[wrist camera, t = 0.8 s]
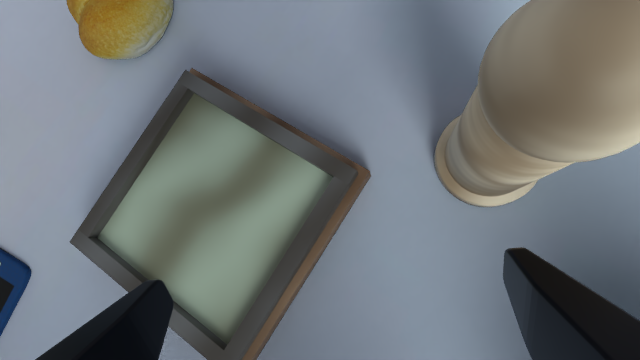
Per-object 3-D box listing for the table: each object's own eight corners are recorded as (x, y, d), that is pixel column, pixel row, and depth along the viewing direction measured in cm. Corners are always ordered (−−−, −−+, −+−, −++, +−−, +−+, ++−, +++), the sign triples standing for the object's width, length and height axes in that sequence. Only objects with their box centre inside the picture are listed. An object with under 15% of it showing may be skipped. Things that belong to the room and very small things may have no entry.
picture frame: (370, 175, 24) (368, 167, 21) (246, 375, 23) (229, 390, 20) (202, 77, 28) (184, 60, 25) (90, 244, 27) (60, 244, 24)
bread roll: (108, 82, 29) (66, 57, 26) (78, 1, 32) (35, -33, 28) (194, 31, 29) (163, -3, 25) (157, -48, 31) (124, -90, 27)
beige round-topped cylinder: (555, 142, 22) (822, -30, 8) (505, 225, 22) (700, 187, 8) (464, 98, 23) (565, -107, 10) (416, 175, 23) (454, 72, 10)
